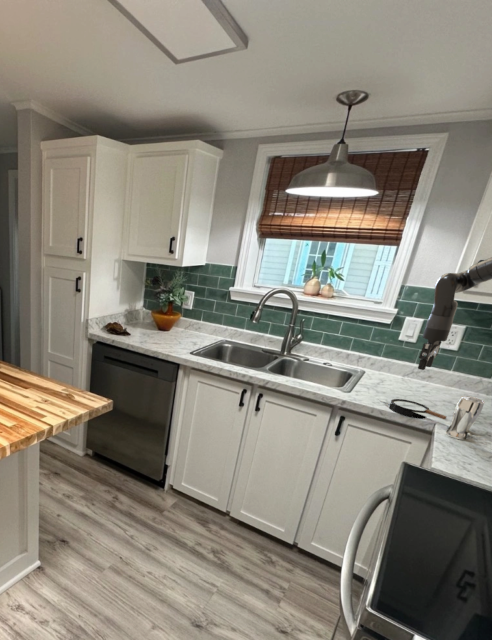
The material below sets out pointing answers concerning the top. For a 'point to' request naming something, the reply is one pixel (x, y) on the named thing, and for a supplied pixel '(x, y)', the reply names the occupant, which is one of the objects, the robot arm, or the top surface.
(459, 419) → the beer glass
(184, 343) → the top surface
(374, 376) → the top surface
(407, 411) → the frying pan
